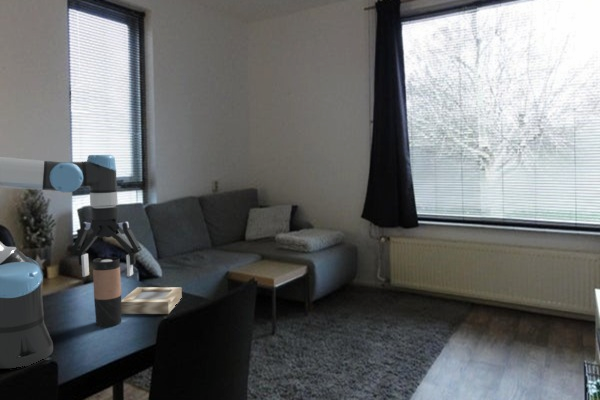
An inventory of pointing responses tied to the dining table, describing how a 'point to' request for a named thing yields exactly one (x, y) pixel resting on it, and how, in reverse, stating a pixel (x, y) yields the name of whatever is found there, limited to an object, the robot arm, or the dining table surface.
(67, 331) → the dining table surface
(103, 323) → the travel mug
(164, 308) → the display stand
